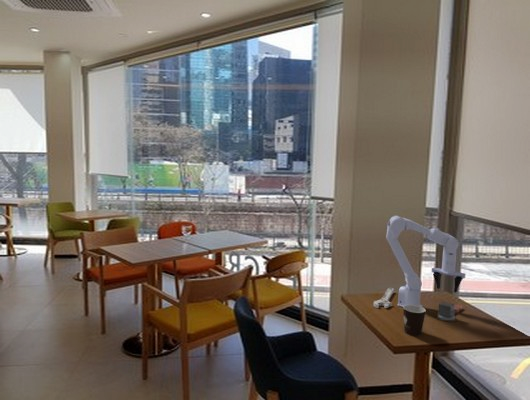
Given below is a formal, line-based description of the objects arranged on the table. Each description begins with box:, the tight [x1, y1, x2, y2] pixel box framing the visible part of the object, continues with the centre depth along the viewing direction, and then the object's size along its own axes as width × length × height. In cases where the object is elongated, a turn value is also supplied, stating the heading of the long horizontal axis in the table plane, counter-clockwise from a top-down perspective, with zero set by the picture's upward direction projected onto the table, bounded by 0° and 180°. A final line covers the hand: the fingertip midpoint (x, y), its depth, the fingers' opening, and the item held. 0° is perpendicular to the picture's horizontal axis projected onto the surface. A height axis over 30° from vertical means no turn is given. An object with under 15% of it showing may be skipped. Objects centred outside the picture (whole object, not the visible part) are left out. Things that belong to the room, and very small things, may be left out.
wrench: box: [372, 287, 395, 309], centre depth 207 cm, size 8×2×30 cm
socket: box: [437, 301, 456, 318], centre depth 184 cm, size 5×5×5 cm
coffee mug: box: [402, 305, 427, 337], centre depth 169 cm, size 12×9×10 cm
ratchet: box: [436, 303, 463, 323], centre depth 189 cm, size 7×22×5 cm, turn 138°
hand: (446, 290), depth 194 cm, fingers open, 7 cm apart
